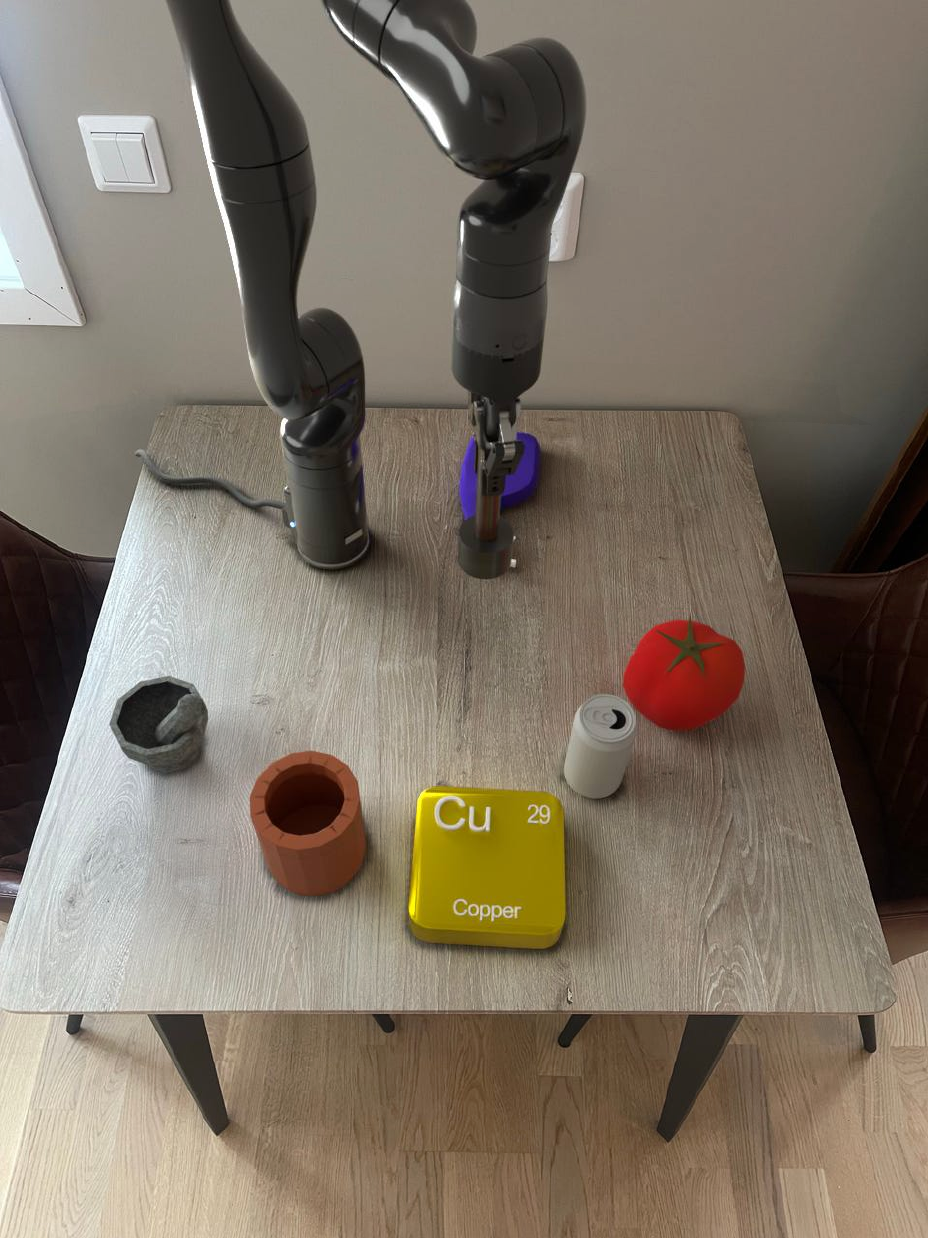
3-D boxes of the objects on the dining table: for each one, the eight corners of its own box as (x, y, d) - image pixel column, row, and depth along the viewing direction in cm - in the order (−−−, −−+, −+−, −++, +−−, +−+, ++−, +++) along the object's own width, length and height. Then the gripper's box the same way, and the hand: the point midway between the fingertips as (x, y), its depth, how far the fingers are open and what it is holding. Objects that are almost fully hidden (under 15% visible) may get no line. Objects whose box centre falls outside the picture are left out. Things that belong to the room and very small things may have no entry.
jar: (245, 859, 95) (226, 809, 86) (311, 786, 100) (299, 733, 91) (322, 916, 91) (310, 870, 83) (385, 837, 97) (381, 787, 88)
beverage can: (618, 807, 99) (637, 750, 90) (558, 795, 100) (572, 737, 91) (623, 756, 103) (642, 696, 94) (566, 745, 104) (580, 685, 95)
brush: (447, 564, 96) (449, 446, 84) (477, 532, 99) (483, 413, 87) (492, 587, 94) (501, 470, 82) (521, 554, 97) (534, 436, 85)
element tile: (407, 942, 90) (405, 925, 86) (419, 802, 99) (418, 781, 95) (561, 952, 90) (567, 934, 86) (559, 810, 99) (564, 789, 95)
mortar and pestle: (109, 768, 101) (76, 708, 91) (156, 701, 106) (129, 637, 97) (200, 802, 98) (176, 744, 89) (243, 731, 104) (224, 670, 95)
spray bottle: (469, 424, 133) (442, 550, 118) (545, 433, 132) (527, 561, 118) (468, 440, 135) (442, 565, 121) (543, 448, 135) (525, 576, 120)
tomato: (607, 662, 111) (623, 601, 102) (716, 656, 112) (741, 595, 103) (628, 751, 104) (646, 694, 95) (744, 743, 105) (773, 686, 96)
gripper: (437, 280, 78) (437, 438, 92) (469, 382, 70) (463, 539, 83) (524, 273, 79) (511, 430, 93) (565, 372, 71) (544, 529, 84)
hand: (488, 481), depth 88 cm, fingers closed on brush, 2 cm apart
